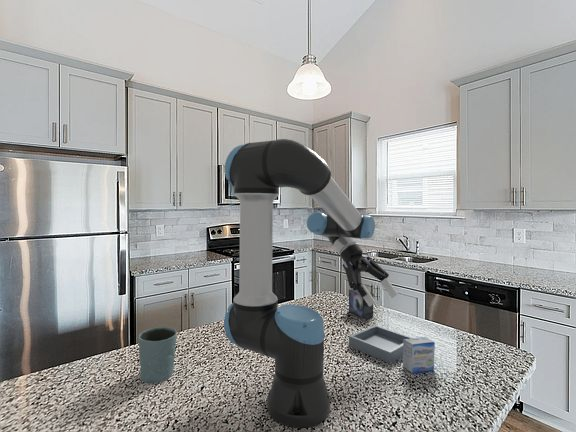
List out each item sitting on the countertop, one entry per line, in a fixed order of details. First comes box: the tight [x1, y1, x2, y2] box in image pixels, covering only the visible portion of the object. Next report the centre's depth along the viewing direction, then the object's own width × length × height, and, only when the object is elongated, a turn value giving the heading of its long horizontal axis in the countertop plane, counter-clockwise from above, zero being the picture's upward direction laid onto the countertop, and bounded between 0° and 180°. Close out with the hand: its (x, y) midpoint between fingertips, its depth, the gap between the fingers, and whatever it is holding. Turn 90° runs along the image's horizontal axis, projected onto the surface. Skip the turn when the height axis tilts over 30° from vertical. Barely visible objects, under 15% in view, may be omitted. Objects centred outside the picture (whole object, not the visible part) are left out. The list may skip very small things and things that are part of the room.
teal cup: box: [137, 326, 178, 384], centre depth 90 cm, size 10×10×12 cm
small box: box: [348, 288, 375, 320], centre depth 143 cm, size 11×6×10 cm, turn 25°
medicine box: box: [402, 336, 436, 375], centre depth 95 cm, size 8×4×9 cm, turn 105°
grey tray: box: [348, 324, 413, 364], centre depth 109 cm, size 16×16×4 cm
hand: (384, 300), depth 105 cm, fingers open, 13 cm apart
